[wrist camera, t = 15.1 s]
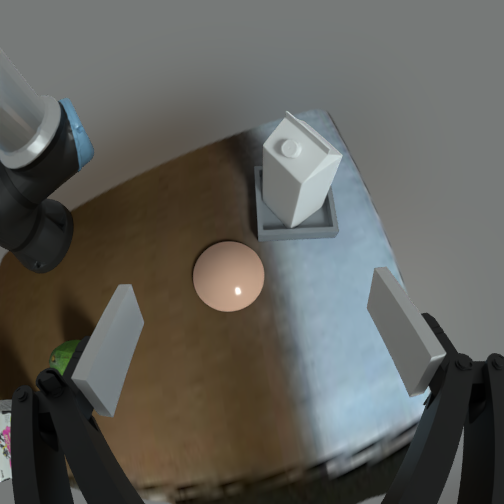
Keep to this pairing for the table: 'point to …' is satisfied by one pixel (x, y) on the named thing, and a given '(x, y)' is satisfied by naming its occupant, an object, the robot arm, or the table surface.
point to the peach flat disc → (228, 276)
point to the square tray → (310, 228)
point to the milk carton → (297, 170)
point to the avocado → (62, 355)
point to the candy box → (5, 440)
